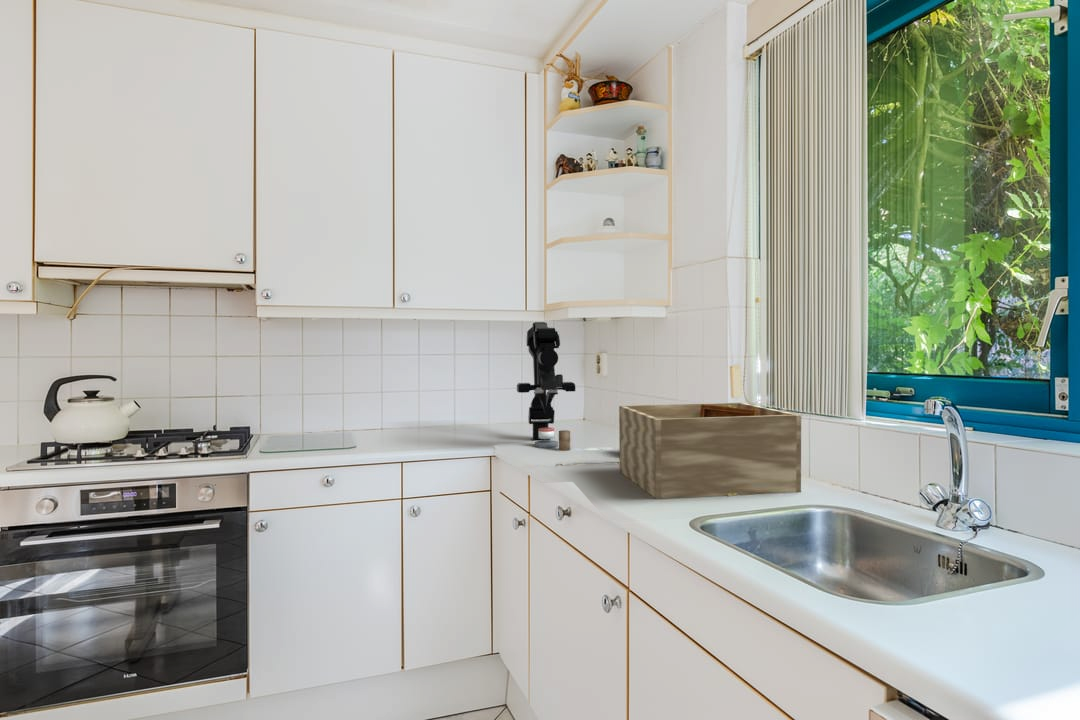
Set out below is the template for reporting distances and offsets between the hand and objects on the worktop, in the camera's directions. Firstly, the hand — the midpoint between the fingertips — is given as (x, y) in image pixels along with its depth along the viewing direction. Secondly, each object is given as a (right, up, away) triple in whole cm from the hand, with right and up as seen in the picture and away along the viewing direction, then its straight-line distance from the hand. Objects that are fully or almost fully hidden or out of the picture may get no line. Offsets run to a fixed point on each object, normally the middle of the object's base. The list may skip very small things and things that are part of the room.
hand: (546, 413), depth 200 cm
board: (+9, -12, -2) cm, 15 cm away
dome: (0, -8, 0) cm, 8 cm away
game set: (+40, -14, -45) cm, 61 cm away
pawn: (+6, -11, -7) cm, 14 cm away
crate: (+39, -13, -45) cm, 61 cm away
